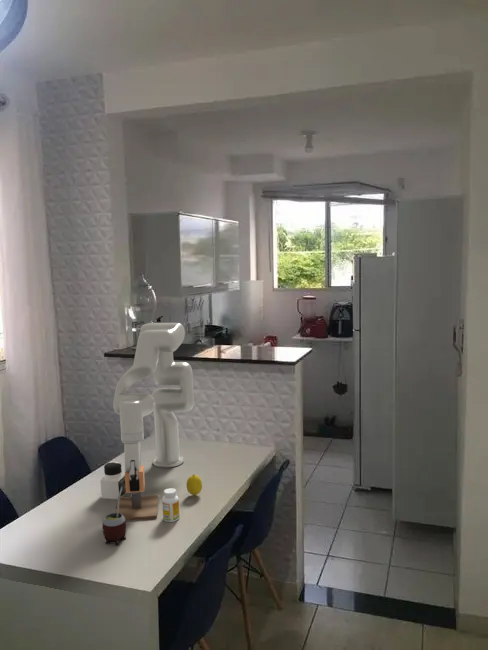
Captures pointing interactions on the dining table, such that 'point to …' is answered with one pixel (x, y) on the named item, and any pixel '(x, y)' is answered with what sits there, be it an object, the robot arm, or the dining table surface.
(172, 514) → the supplement bottle
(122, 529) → the mate gourd
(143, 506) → the base board
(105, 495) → the medicine bottle
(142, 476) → the tan wooden cube
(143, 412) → the robot arm
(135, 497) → the post
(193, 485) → the lemon
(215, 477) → the dining table surface
